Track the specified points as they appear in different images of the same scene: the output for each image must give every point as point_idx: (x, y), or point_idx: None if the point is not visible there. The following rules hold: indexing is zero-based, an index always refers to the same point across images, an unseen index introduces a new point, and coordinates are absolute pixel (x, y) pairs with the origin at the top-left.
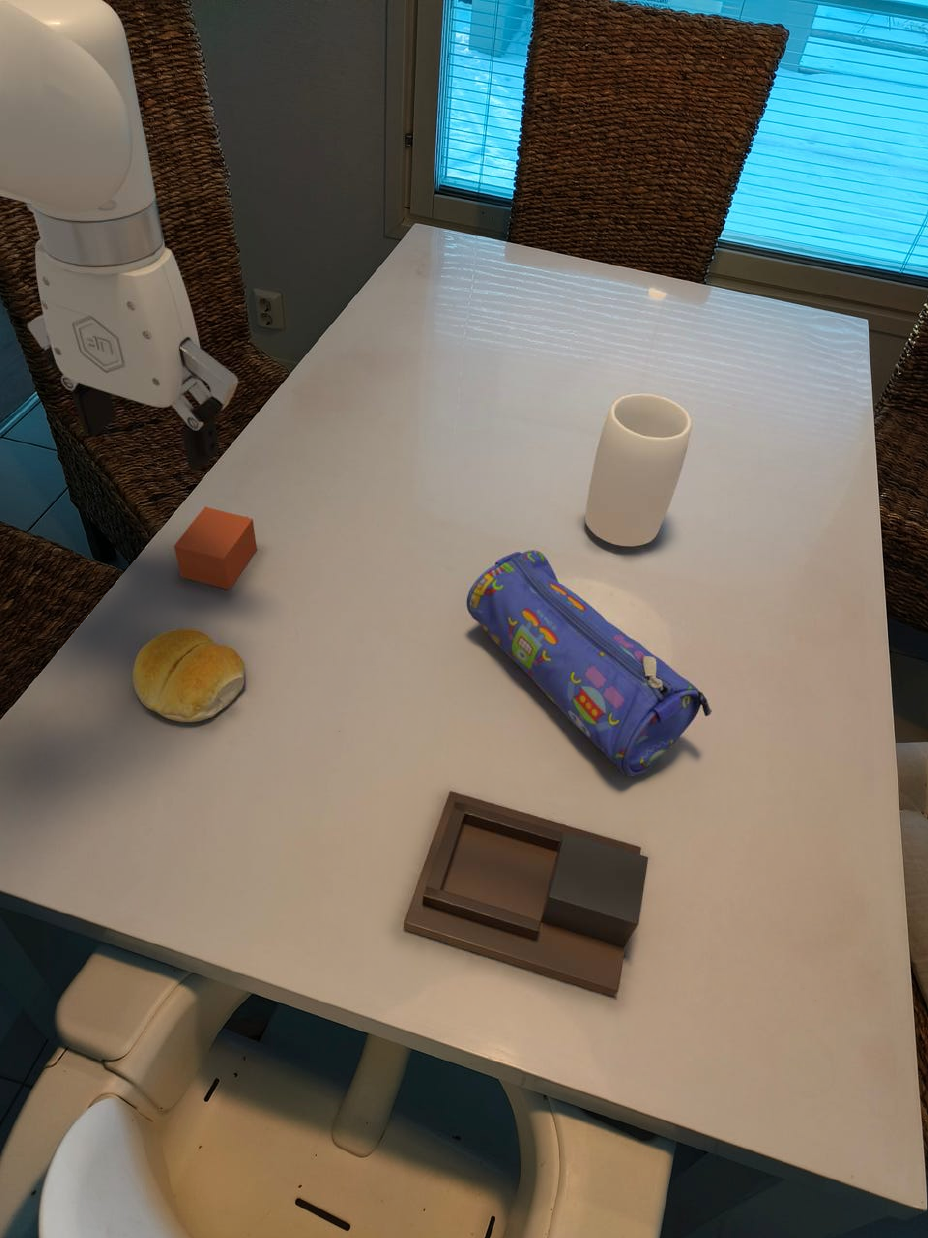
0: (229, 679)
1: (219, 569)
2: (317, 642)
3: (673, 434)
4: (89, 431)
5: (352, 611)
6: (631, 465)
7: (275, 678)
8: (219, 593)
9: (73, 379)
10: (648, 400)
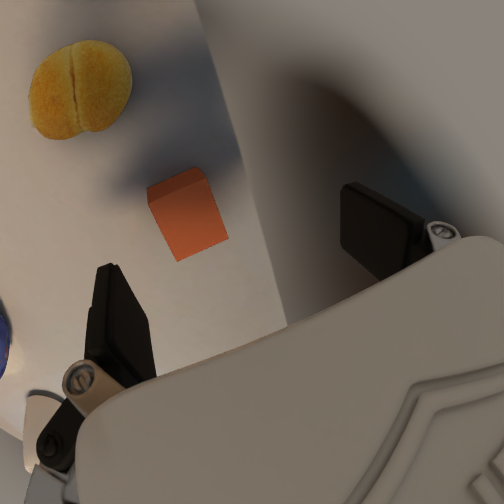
0: (30, 112)
1: (154, 194)
2: (42, 209)
3: None
4: (350, 188)
5: (54, 254)
6: (29, 448)
7: (33, 154)
8: (150, 179)
9: (461, 241)
10: None
